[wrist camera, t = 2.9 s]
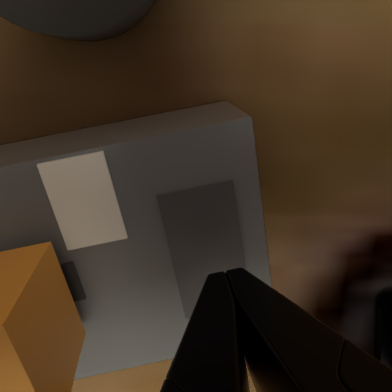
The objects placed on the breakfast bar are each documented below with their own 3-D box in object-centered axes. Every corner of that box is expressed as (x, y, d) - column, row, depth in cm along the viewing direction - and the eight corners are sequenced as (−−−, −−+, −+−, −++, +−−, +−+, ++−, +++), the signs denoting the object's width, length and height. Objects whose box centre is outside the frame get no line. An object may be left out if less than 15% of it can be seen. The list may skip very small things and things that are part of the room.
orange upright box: (86, 333, 10) (58, 439, 7) (15, 347, 10) (-40, 460, 7) (50, 241, 9) (2, 324, 6) (-29, 257, 9) (-115, 349, 6)
